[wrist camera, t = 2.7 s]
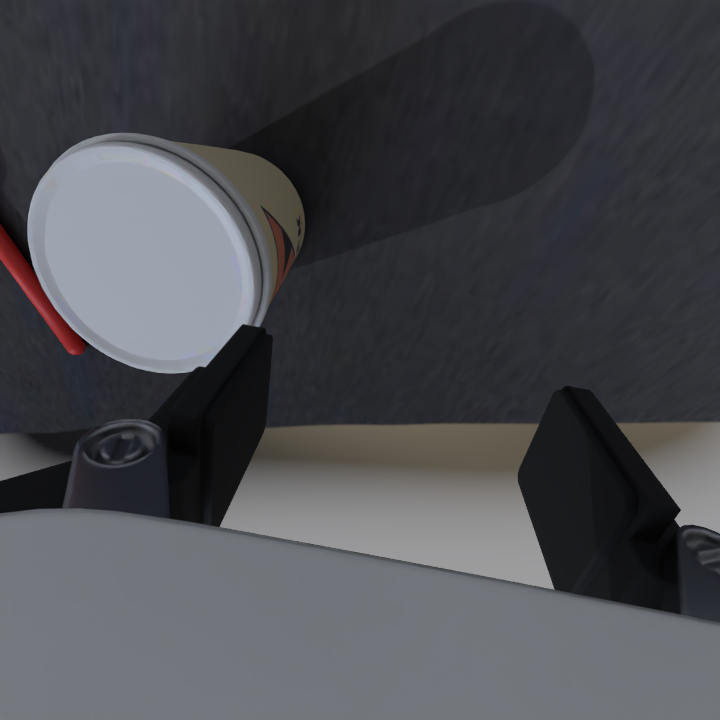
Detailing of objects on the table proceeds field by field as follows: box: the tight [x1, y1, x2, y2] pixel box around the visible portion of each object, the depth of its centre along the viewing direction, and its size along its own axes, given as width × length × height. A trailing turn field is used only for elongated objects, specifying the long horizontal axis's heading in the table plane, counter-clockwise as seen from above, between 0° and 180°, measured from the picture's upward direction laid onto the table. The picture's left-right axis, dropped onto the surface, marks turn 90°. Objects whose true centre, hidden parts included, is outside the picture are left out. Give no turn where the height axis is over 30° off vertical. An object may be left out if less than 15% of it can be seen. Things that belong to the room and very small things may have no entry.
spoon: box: [0, 224, 86, 355], centre depth 28 cm, size 16×5×1 cm, turn 21°
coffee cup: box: [28, 133, 305, 373], centre depth 21 cm, size 9×9×12 cm
